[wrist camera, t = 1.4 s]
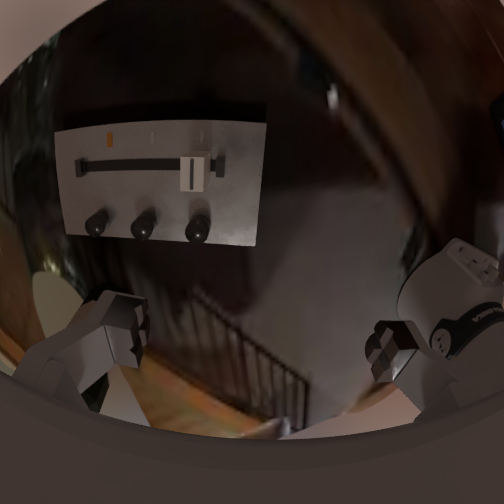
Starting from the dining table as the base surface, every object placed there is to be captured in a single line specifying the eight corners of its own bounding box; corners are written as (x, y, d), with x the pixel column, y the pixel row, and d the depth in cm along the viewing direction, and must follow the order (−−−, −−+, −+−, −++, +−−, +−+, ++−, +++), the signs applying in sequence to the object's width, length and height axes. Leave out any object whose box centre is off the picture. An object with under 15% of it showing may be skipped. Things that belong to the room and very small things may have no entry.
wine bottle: (83, 282, 35) (-16, 454, 9) (129, 282, 35) (35, 491, 8) (102, 324, 39) (33, 485, 13) (145, 326, 39) (87, 513, 12)
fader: (211, 150, 25) (203, 157, 21) (209, 180, 26) (203, 192, 23) (190, 150, 25) (180, 157, 21) (190, 179, 26) (179, 191, 22)
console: (265, 122, 26) (267, 124, 22) (254, 238, 32) (255, 255, 28) (64, 130, 25) (44, 135, 21) (74, 227, 31) (58, 241, 27)
